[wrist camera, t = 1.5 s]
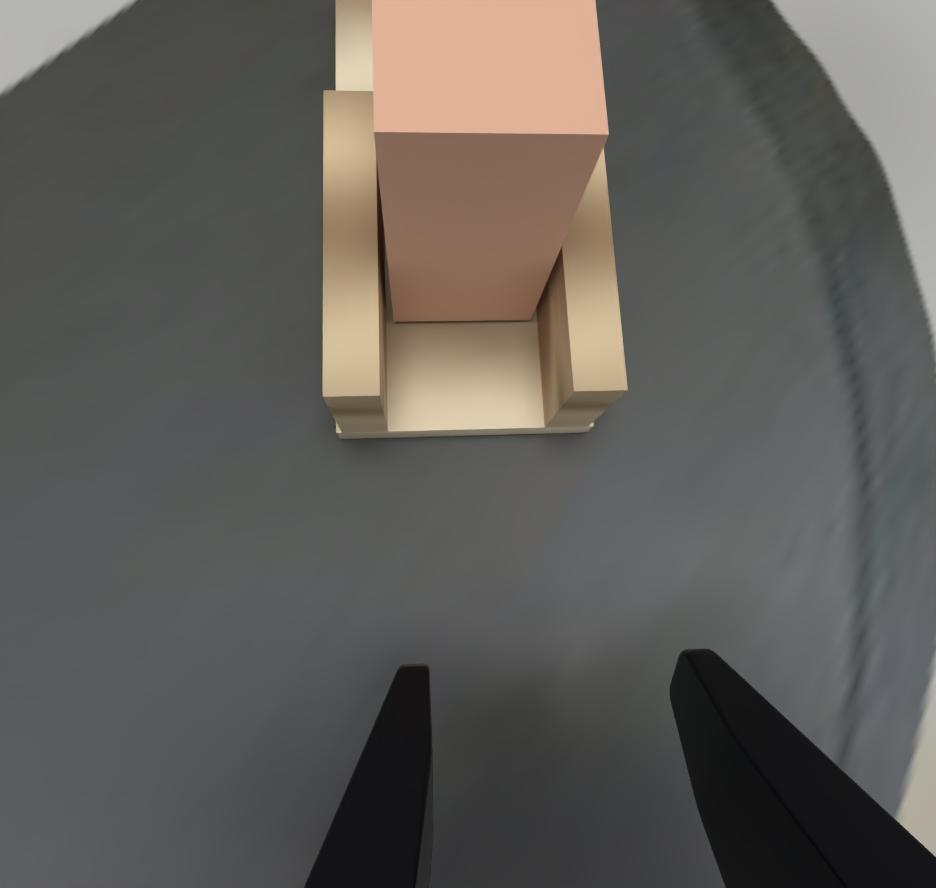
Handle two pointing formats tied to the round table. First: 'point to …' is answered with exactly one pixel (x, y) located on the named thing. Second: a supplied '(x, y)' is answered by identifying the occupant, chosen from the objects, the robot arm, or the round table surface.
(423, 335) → the chute
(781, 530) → the round table surface
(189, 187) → the round table surface
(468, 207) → the block
